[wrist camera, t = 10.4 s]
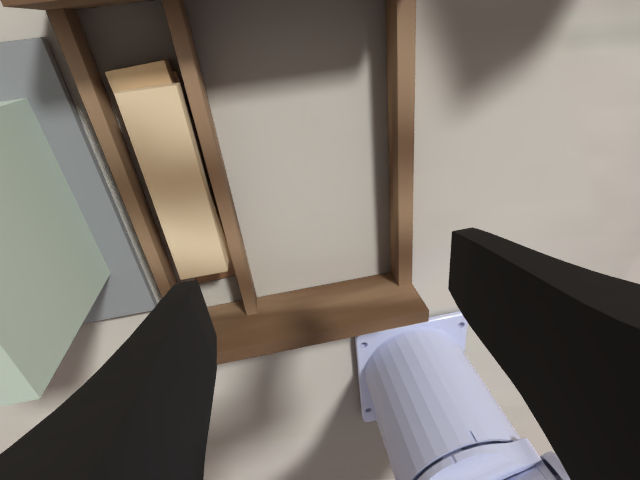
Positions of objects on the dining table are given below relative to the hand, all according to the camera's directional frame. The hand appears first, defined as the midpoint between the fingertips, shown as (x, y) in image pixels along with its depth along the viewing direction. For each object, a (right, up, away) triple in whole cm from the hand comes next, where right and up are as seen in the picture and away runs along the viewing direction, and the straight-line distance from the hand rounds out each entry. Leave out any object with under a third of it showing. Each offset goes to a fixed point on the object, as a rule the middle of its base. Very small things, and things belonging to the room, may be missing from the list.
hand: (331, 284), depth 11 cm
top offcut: (-7, +4, +7) cm, 11 cm away
